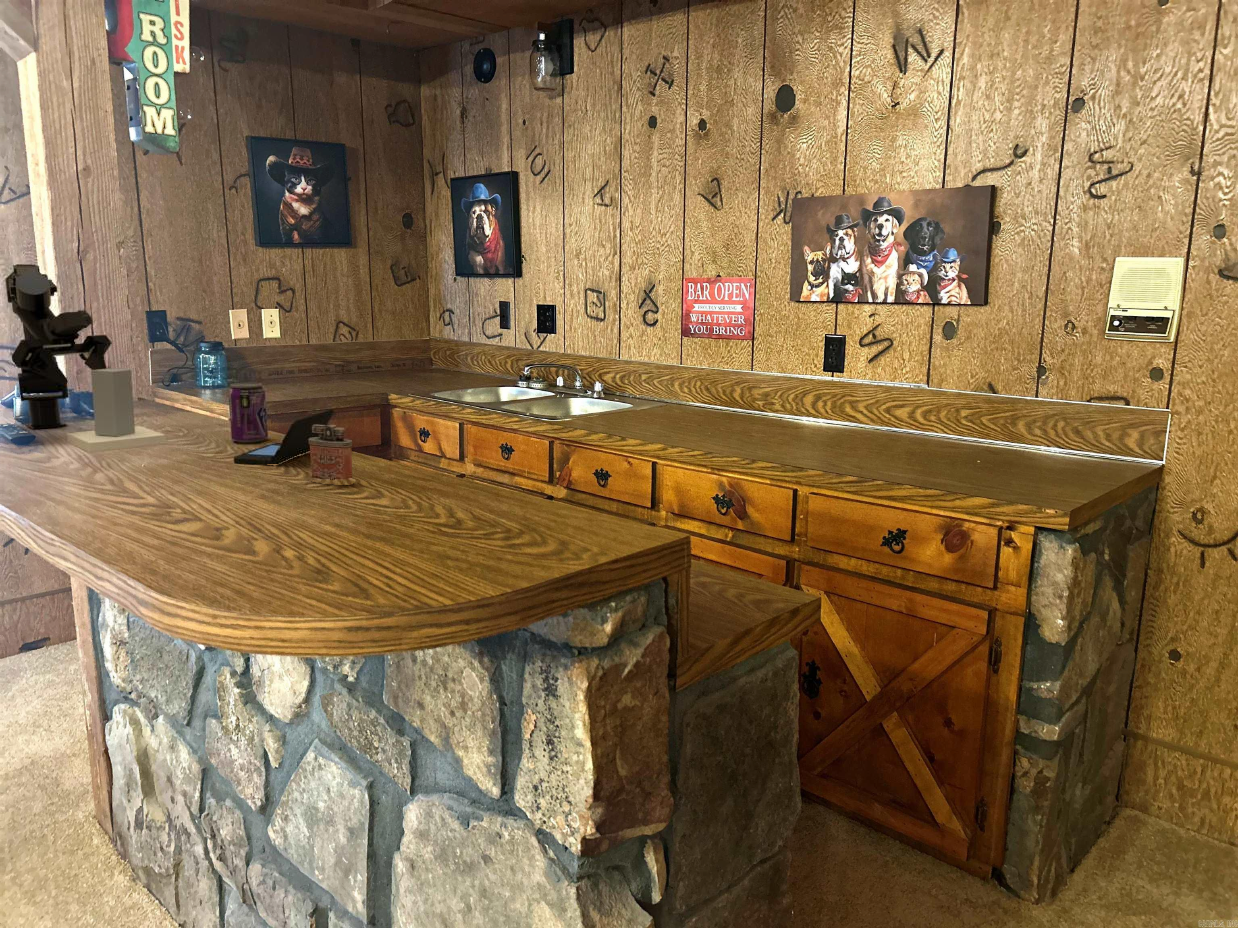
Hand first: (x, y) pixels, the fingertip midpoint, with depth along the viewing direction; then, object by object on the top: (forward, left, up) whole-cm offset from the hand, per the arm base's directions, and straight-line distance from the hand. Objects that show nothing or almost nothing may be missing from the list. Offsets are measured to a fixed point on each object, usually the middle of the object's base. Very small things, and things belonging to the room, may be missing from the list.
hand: (87, 381), depth 182 cm
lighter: (+66, +17, -13) cm, 70 cm away
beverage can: (+21, +23, -13) cm, 34 cm away
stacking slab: (+6, +2, -13) cm, 15 cm away
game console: (+41, +21, -13) cm, 48 cm away
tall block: (+6, +2, -10) cm, 12 cm away
